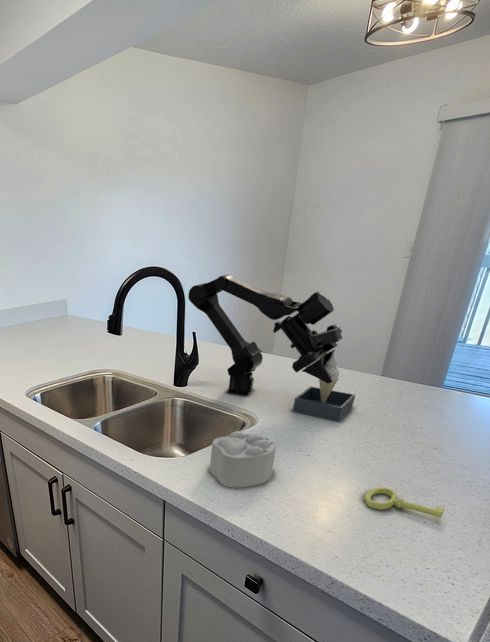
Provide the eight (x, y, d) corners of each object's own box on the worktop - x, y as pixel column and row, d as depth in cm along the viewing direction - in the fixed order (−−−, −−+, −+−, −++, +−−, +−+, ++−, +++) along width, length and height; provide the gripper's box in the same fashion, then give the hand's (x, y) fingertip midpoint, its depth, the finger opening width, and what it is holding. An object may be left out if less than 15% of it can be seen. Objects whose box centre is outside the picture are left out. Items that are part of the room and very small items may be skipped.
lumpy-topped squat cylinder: (205, 466, 101) (208, 432, 97) (256, 458, 102) (261, 425, 98) (226, 489, 91) (230, 453, 87) (282, 481, 93) (289, 445, 89)
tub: (292, 411, 125) (294, 398, 123) (308, 398, 133) (310, 386, 131) (338, 421, 118) (341, 407, 116) (352, 407, 125) (355, 394, 123)
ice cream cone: (325, 400, 127) (337, 350, 120) (336, 407, 123) (348, 355, 116) (309, 402, 127) (319, 351, 120) (318, 408, 122) (330, 356, 115)
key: (443, 524, 78) (447, 514, 77) (363, 507, 84) (366, 497, 83) (438, 503, 83) (442, 494, 82) (364, 488, 89) (366, 479, 88)
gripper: (313, 323, 110) (351, 373, 108) (336, 310, 122) (371, 355, 120) (277, 348, 119) (311, 395, 117) (302, 334, 130) (334, 377, 129)
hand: (333, 380), depth 120 cm, fingers closed on ice cream cone, 5 cm apart
